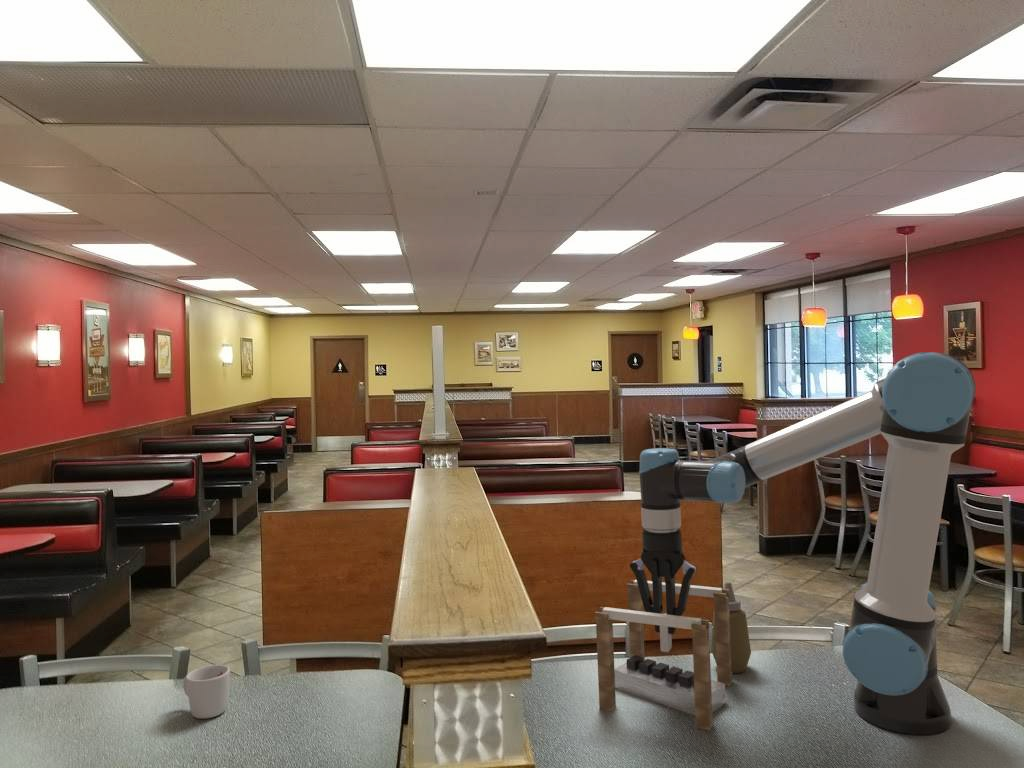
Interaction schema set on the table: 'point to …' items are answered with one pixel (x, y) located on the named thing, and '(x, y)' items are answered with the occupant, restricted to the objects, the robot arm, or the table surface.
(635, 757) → the table surface
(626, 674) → the breaker strip
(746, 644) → the squeeze bottle
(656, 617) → the long white bar
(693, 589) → the white crossbar
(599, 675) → the posts
